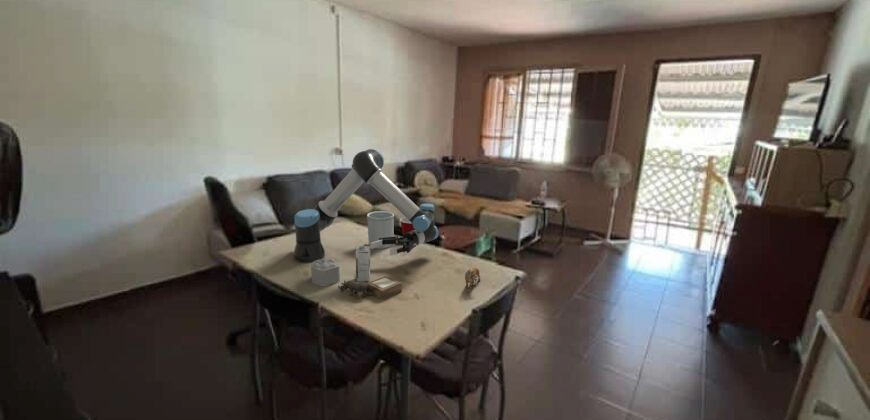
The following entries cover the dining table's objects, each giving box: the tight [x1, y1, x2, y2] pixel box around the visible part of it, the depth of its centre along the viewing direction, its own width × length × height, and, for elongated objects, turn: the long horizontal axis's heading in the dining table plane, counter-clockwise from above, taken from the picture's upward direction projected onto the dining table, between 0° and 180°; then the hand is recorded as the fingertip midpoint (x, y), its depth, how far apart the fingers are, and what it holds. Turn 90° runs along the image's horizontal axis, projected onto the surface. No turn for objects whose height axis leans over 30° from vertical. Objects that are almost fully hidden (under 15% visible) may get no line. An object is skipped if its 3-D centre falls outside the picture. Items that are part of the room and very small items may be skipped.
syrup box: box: [355, 245, 371, 282], centre depth 167 cm, size 6×6×14 cm
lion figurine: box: [464, 267, 481, 289], centre depth 165 cm, size 15×5×9 cm, turn 163°
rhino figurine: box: [337, 279, 371, 299], centre depth 154 cm, size 4×14×6 cm, turn 76°
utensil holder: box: [366, 210, 395, 249], centre depth 212 cm, size 15×15×18 cm
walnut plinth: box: [366, 276, 402, 300], centre depth 157 cm, size 10×10×4 cm
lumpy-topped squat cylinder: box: [310, 257, 341, 287], centre depth 167 cm, size 10×13×9 cm
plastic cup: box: [399, 216, 415, 237], centre depth 224 cm, size 11×11×12 cm
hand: (380, 249), depth 173 cm, fingers open, 13 cm apart
